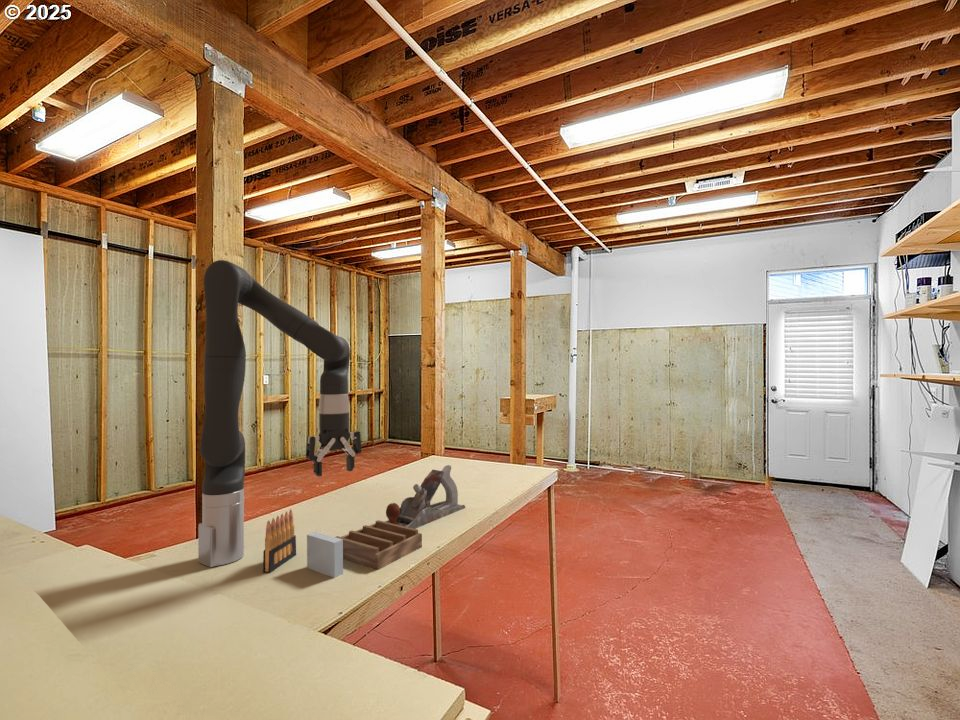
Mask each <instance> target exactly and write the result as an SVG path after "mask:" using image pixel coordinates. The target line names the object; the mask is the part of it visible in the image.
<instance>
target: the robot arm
mask: <svg viewBox="0 0 960 720" xmlns="http://www.w3.org/2000/svg"><path fill="white" fill-rule="evenodd" d="M203 290H204V292H203V293H204V303H205V314H206V315H205V316H206V317H205V339H204V340H205V341H204V342H205V344H204V355H203V356H204V358H203V362H204V363H203V393H204V417H203V425H202V432H201V438H200V444H199V452H200V455H201V458H202V459H203V460H204V473H203V479H202V484H201V487H202V489H201V497H202V498H201V499H202V500H201V501H202V502H201V503H202V507H201V509H202V511H201V512H202V513H201V515H202V517H201V521H202V522H200V523H198V529H197V530H198V539H197V541H198V551H197V552H198V553H197V554H198V558H197V559H198V560H197V561H198V563H200V564H203V565H204V566H206V567H209V568H213V567H217V566H222V565H228V564H232V563H233V562H237V561H238V560H240V559H242V558H243V557H244V555H245V554H244V553H245V526H244V524H245V523H244V522H245V519H244V518H245V515H244V513H245V507H244V506H245V504H244V503H245V502H244V500H245V498H244V497H245V489H244V488H245V486H244V485H245V474H246V441H245V437H244V435H243V432H241V431H240V428H239V426H240V425H239V408H240V403H241V402H240V401H241V397H242V393H243V390H244V385H245V378H246V366H247V365H246V364H247V363H246V361H247V359H246V357H247V355H246V353H247V352H246V344H245V342H244V338H243V334H242V331H241V327H240V324H239V317H238V309H239V308H238V307H239V304H240V305H242V306H244V307H246V308H248V309H251V310H253V312H255V313H257V314H259V315H260V316H261V317H263V318H265V320H266V321H269V323H271V324H272V325H273V326H274V327H276V328H277V329H278V330H279V331H280V332H282V333H284V334H285V335H287V336H288V337H290V338H292V339H293V340H294V341H296V342H298V343H300V344H302V345H304V347H306V348H307V349H308V350H310V352H313V354H315V355H316V356H318V358H320V359H322V360H323V371H322V373H321V375H320V379H319V403H318V405H319V406H318V412H319V413H318V417H319V419H318V422H319V423H318V425H319V426H318V429H319V433H318V435H316V436H315V435H313V436H312V435H307V437H306V448H305V459H306V460H309V461H312V462H313V474H314V475H315V476H316V477H322V476H323V462H322V460H323V459H324V457H325V456H326V455H327V454H328V452H334V451H341V450H343V451H344V452H345V454H346V455H347V456H346V464H345V465H346V466H345V467H346V471H348V472H353V470H354V468H355V456H356V455H358V454H362V439H361V438H362V437H361V432H360V431H358V430H353V431H350V397H349V380H348V379H349V378H348V374H349V367H350V360H351V359H350V358H351V356H350V355H351V350H350V349H351V348H350V344H349V342H348V341H347V340H346V339H345V338H343V336H340V335H337V334H334V333H333V332H332V331H329V330H328V329H327V328H325V327H323V326H322V325H321V324H319V323H318V322H317V321H316V320H314V319H313V318H312V317H310V316H308V315H307V314H305V313H304V312H302V311H301V310H299V309H297V308H295V306H293V305H292V304H289V303H287V302H285V301H284V300H282V299H280V298H279V297H277V296H275V294H273V293H271V292H270V291H268V290H267V289H266V288H265V287H263V286H262V285H261V284H260V283H259V282H258V281H256V279H254V277H253V276H251V274H249V273H248V272H247V271H246V270H245V269H244V268H243V267H240V266H239V265H237V264H235V263H233V262H231V261H229V260H225V259H220V260H216V261H213V262H212V263H210V264H209V265H208V266H207V268H206V270H205V272H204V275H203ZM349 439H351V440H352V446H351V445H350V443H348V441H349ZM318 442H319V443H320V445H319V446H318V448H317V449H316V445H317V443H318Z"/></svg>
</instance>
